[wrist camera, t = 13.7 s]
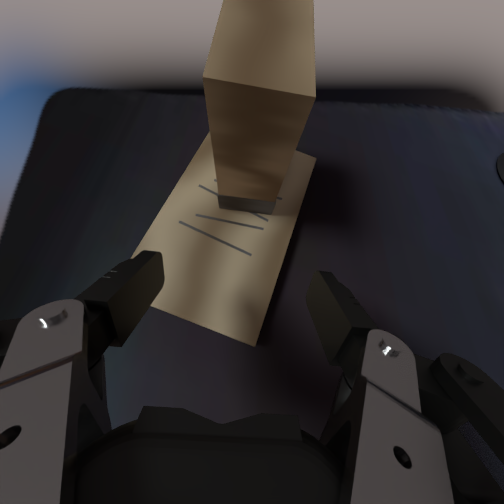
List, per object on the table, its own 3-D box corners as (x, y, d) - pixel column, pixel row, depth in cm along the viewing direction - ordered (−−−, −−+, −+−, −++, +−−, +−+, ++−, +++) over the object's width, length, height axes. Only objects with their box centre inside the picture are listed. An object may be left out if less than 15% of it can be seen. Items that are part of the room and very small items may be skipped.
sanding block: (275, 143, 20) (314, -8, 10) (271, 215, 17) (318, 99, 8) (231, 136, 19) (228, -26, 10) (219, 208, 17) (199, 78, 7)
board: (311, 166, 21) (316, 158, 20) (253, 343, 15) (255, 346, 14) (217, 130, 21) (216, 120, 20) (120, 291, 15) (110, 289, 14)
